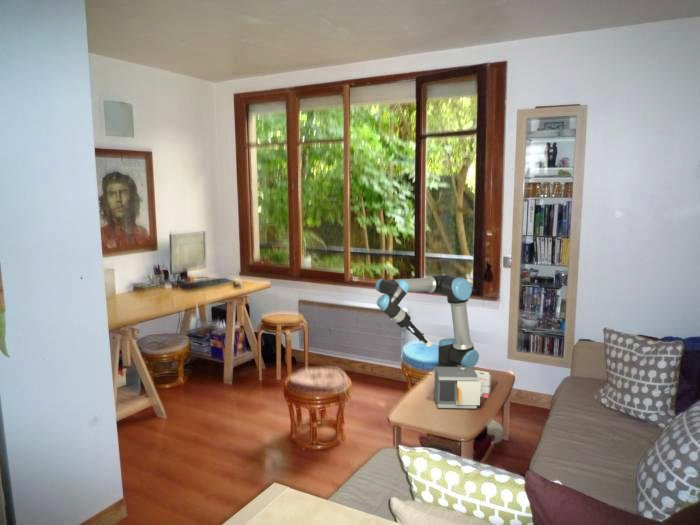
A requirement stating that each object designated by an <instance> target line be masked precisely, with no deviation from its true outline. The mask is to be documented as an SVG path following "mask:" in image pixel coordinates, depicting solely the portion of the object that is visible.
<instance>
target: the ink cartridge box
mask: <svg viewBox="0 0 700 525" xmlns="http://www.w3.org/2000/svg"><path fill="white" fill-rule="evenodd" d="M474 371H475V372H476V374H477V378H478V381H481V390H480V398H485V399H489V398H490V396H491V384H492V380H491V379H492V375H491V374H490V372H488V371H483V370H477V369H474Z"/></svg>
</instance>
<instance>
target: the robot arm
mask: <svg viewBox="0 0 700 525" xmlns="http://www.w3.org/2000/svg"><path fill="white" fill-rule="evenodd" d="M375 290H376V291H377V292H378V293H380V294H382V295H380V296H379V297H378V299H377V300H376V306H377V307H378V308H379V309H380V310H381V311H382V312H383V313H384V314H385V315H387V316H388V317H389V318H390V320H391V321H393V322H395V324H396V325H397V326H399V328H405V329H406V330H407V331H409V332H410V333H411V334H412V335H413V336H415V337H416V338H417V339H418V341H419V342H422V343H423V344H424V345H425V346H427V347H428V348H430V347H431V346H433V342H431V341H430V339H428V337H426V336H425V334H424V333H422V331H420V330H419V329H418V328H417V327H416V326H415V324H413V322H412V321H411V316H410V315H409V314H408V313H407V312H406V311H405V310H404V309H403V308H402V307H401V306H400V305H399V304H401V302H402V300H403V299H404V298H405V296H406V295H407V294H408V293H419V292H421V293H422V292H427V293H431V294H432V293H435V294H440V295H443V296H446V297H447V298H446V300H447V303H448V304H449V305H450V308H451V309H450V310H451V317H452V319H451V320H452V326H453V328H452V329H453V333H454V334H453V336H454V338H452V337H451V338H450V337H449V338H448V337H447V338H442V339H440V340H439V342H438V346H437V348H438V351H437V352H438V356H437V357H438V358H437V359H438V360H437V362H438V363H437V365H436V367H472V368H474V367H475V366H476V365H477V363H478V362H479V358H480V354H479V352H478V350H476V349H475V348H474V342H472V341H471V336H470V325H469V318H468V309H467V303H468V302H469V299H470V297H471V295H472V292H473V291H472V290H473V288H472V285H471V283H470V281H469V280H467V279H465V278H462V277H457V276H452V275H449V274H437V275H428V276H427V277H419V278H418V277H417V278H399V279H384V278H380V279H378V280H377V281H376V282H375Z"/></svg>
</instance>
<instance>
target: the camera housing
mask: <svg viewBox="0 0 700 525" xmlns="http://www.w3.org/2000/svg"><path fill="white" fill-rule="evenodd" d="M457 380H465V381H478V378H477V374H476V372H475V369H474V367H461V366H458V367H437V366H435V367H434V387H433V388H434V389H433V390H434V391H433V399H434V402H435V406H436V408H437V409H475V410H476V409H477V408H478V405H456V394H457Z"/></svg>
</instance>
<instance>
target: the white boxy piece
mask: <svg viewBox="0 0 700 525" xmlns="http://www.w3.org/2000/svg"><path fill="white" fill-rule="evenodd" d="M480 390H481V381H465V380H457V394H456V405H476V406H481V405H480V404H481V397H480Z"/></svg>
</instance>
